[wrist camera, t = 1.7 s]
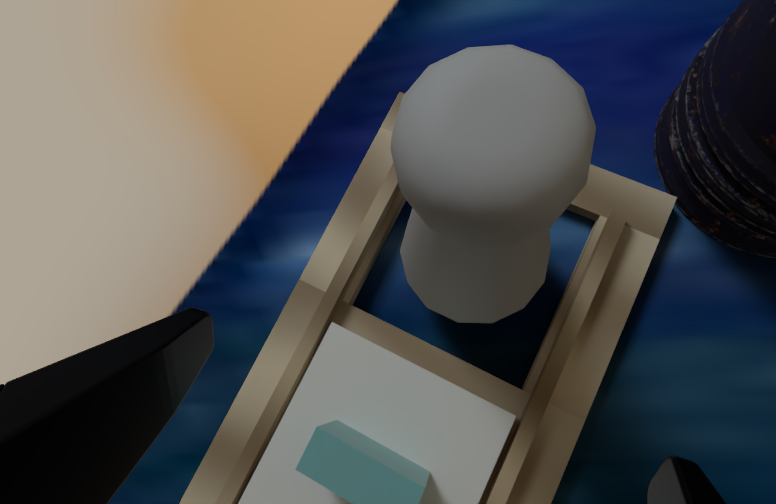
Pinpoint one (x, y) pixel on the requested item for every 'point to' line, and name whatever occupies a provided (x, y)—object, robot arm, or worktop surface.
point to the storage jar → (726, 133)
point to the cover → (378, 434)
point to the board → (530, 404)
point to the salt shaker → (487, 176)
